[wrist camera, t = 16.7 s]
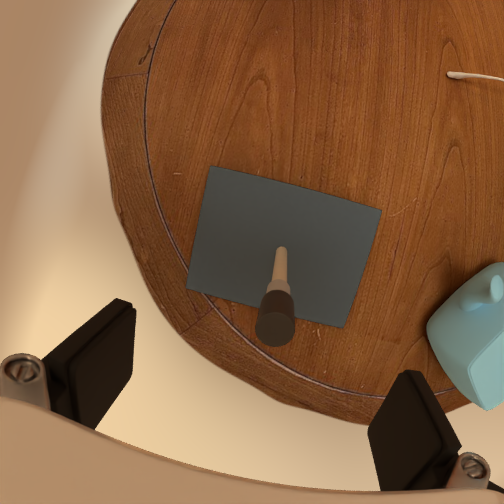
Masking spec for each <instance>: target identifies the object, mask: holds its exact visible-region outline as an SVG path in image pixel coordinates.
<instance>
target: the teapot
mask: <svg viewBox="0 0 504 504" xmlns="http://www.w3.org/2000/svg"><path fill="white" fill-rule="evenodd" d="M427 335H428V339H429V342H430V344H431V346H432V349H433V351H434V353H435V355H436V357H437V359H438V361H439V363H440V365H441V366H442V368H443V370H444V371H445V373H446V374H447V376H448V377H449V378H450V380H451V381H452V382H453V384H454V385H455V386H456V387H457V389H458V390H459V391H460V392H461V393H462V394H463V395H464V396H465V397H467V398H468V399H469V400H471V401H472V402H473V403H475V404H476V405H478V406H479V407H481V408H483V409H484V410H487V411H488V410H491V409H493V408H495V407H496V406H498V405H499V404H501V403H502V402H503V401H504V262H498V263H493V264H491V265H489V266H487V267H486V268H484V269H483V270H481V271H480V272H479V273H477V274H476V275H475V276H473V277H472V278H471V279H469V280H468V281H467V282H465V283H464V284H463V285H462V286H461V287H460V288H459V289H457V290H456V291H455V292H454V293H453V294H452V295H451V296H450V297H449V298H448V299H447V300H446V301H445V302H444V303H443V304H442V305H441V306H440V308H439V309H438V310H437V311H436V312H435V313H434V314H433V315H432V317H431V318H430V319H429V321H428V323H427Z"/></svg>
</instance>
